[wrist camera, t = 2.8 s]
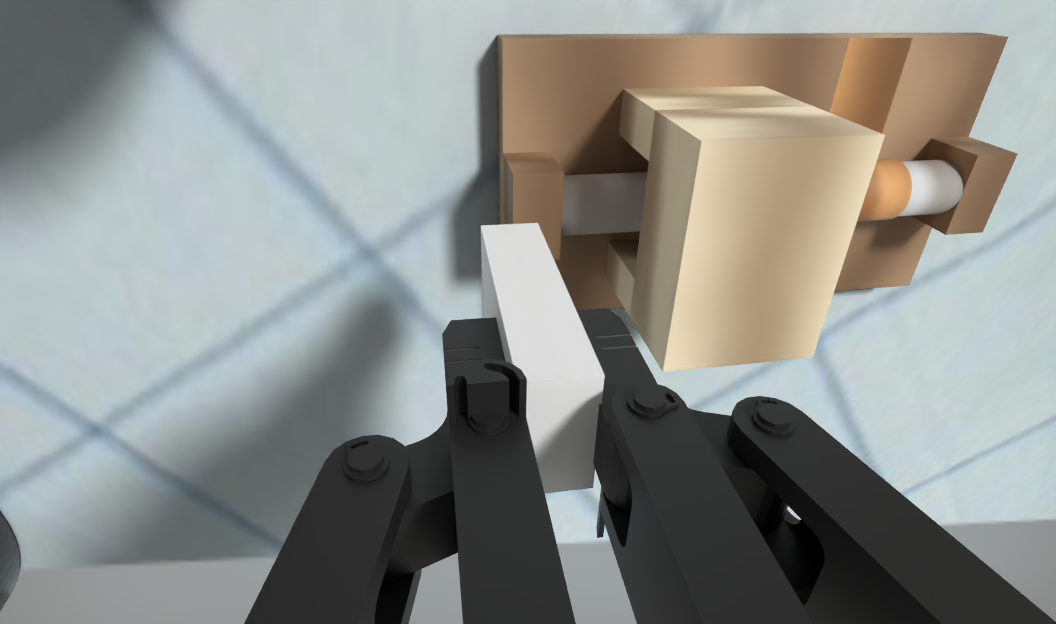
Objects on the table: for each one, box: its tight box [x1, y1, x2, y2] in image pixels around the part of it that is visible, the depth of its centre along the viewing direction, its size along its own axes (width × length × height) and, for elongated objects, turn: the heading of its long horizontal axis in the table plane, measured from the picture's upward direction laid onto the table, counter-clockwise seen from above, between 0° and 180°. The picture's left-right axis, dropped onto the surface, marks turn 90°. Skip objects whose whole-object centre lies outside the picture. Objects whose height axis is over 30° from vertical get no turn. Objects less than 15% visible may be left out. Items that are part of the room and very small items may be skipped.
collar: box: [605, 86, 885, 372], centre depth 19 cm, size 5×7×6 cm
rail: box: [497, 33, 1017, 310], centre depth 22 cm, size 18×10×4 cm, turn 88°
